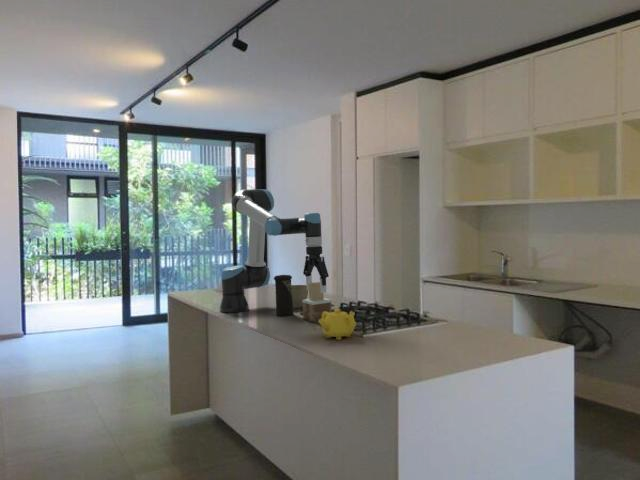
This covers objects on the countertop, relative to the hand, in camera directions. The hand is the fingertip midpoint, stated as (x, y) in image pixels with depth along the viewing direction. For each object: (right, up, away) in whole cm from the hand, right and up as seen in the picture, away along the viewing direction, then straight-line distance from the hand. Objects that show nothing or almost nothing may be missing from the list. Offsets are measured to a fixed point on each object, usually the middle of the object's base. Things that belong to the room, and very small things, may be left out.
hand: (316, 291), depth 249 cm
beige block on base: (0, -5, 0) cm, 5 cm away
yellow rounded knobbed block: (+9, -15, -37) cm, 41 cm away
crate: (+1, -13, +1) cm, 13 cm away
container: (-16, -14, +16) cm, 26 cm away
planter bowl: (-12, -12, +37) cm, 41 cm away
